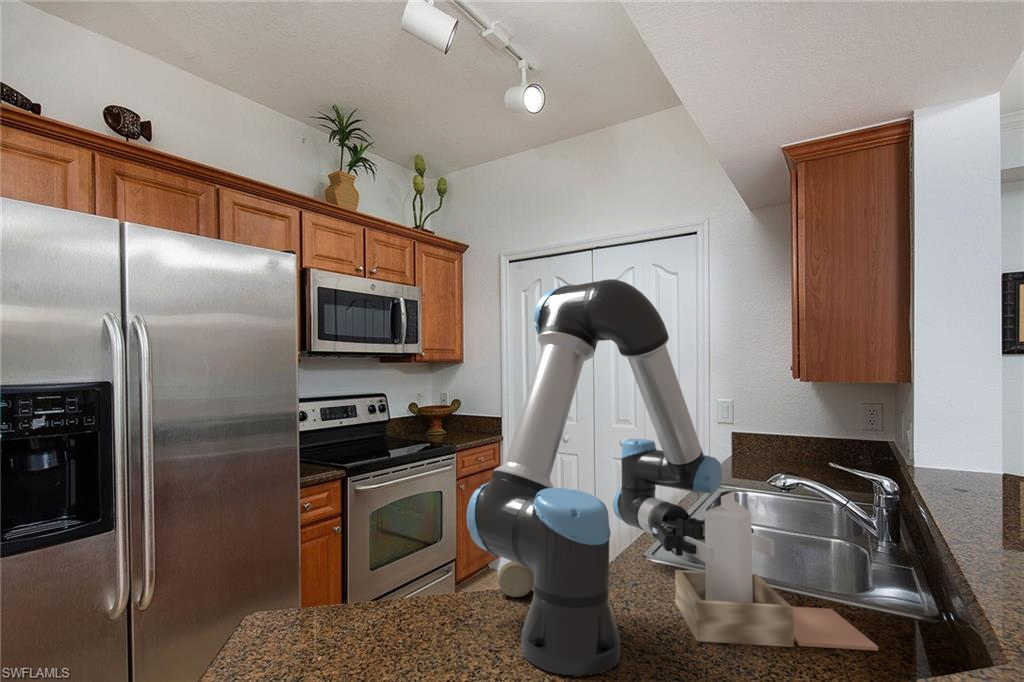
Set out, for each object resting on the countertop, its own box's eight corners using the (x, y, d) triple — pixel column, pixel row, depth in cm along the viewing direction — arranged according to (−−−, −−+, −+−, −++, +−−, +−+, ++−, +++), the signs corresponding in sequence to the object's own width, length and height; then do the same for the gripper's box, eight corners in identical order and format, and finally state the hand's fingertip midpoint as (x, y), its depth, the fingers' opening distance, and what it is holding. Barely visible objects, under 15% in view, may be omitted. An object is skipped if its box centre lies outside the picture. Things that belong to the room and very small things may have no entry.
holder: (697, 641, 84) (696, 602, 84) (675, 602, 99) (675, 569, 99) (794, 647, 82) (793, 607, 83) (757, 607, 97) (756, 573, 98)
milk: (705, 623, 90) (703, 493, 92) (719, 612, 95) (716, 489, 97) (741, 634, 86) (738, 499, 88) (754, 623, 91) (751, 494, 92)
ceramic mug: (495, 599, 98) (497, 557, 99) (499, 582, 107) (500, 544, 107) (551, 602, 98) (553, 560, 99) (550, 585, 106) (552, 547, 107)
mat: (799, 645, 83) (798, 641, 83) (763, 608, 97) (763, 605, 97) (878, 650, 82) (878, 646, 82) (831, 612, 96) (831, 608, 96)
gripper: (712, 534, 112) (797, 567, 92) (613, 544, 104) (683, 582, 84) (712, 498, 113) (796, 524, 93) (613, 505, 105) (683, 535, 85)
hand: (743, 552), depth 88 cm, fingers open, 12 cm apart
